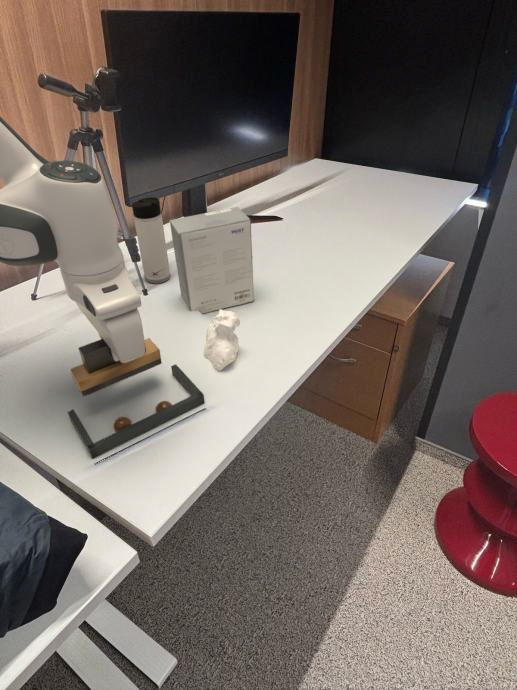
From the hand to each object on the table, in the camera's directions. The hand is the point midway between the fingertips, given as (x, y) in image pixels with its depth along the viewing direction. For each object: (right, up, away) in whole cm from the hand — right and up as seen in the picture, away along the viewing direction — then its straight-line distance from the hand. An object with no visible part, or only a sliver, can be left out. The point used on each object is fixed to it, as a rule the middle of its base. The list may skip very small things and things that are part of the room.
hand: (114, 352), depth 79 cm
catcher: (+3, -11, +4) cm, 12 cm away
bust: (+17, -1, +16) cm, 23 cm away
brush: (0, -4, +3) cm, 5 cm away
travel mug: (-1, +18, +41) cm, 45 cm away
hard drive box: (+14, +11, +32) cm, 37 cm away
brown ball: (+8, -10, +3) cm, 13 cm away
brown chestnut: (+1, -12, 0) cm, 12 cm away
